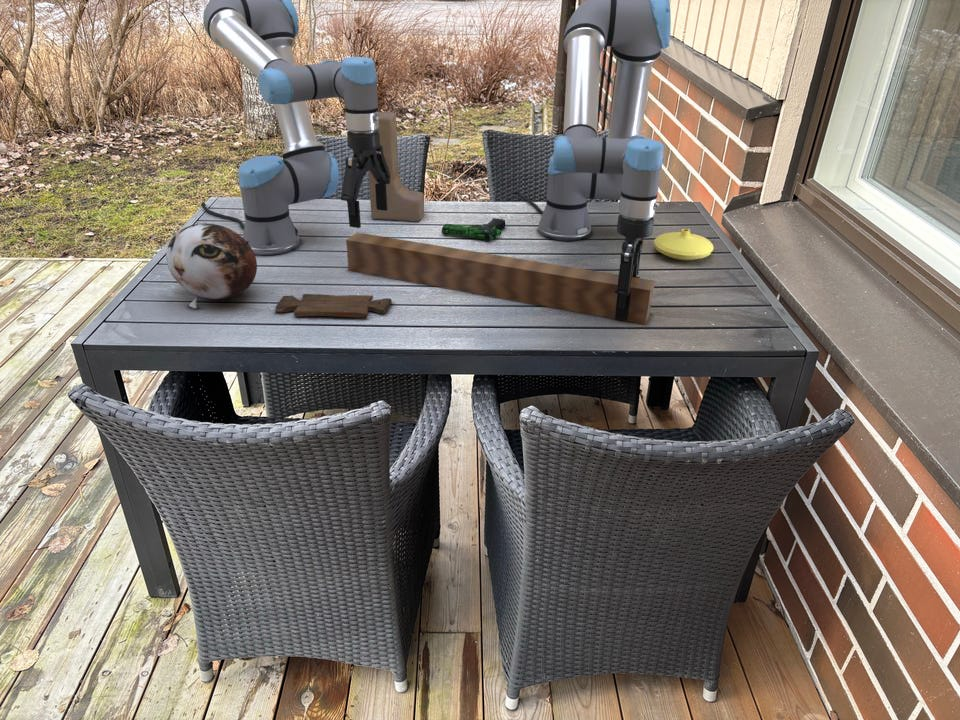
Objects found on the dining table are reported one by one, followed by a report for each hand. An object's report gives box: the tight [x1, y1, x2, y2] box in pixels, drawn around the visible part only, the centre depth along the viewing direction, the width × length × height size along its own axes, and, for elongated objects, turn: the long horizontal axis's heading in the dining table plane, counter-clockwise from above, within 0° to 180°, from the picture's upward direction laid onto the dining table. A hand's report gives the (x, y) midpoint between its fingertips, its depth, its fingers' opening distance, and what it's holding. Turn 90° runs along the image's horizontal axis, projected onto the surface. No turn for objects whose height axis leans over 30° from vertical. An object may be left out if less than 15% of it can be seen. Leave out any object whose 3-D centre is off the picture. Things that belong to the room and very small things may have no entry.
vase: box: [653, 228, 715, 261], centre depth 193 cm, size 16×16×7 cm
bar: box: [345, 232, 656, 325], centre depth 171 cm, size 76×6×8 cm, turn 69°
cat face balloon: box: [165, 222, 258, 309], centre depth 165 cm, size 22×18×20 cm
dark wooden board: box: [275, 293, 392, 318], centre depth 164 cm, size 26×2×10 cm
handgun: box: [441, 217, 506, 242], centre depth 207 cm, size 16×3×15 cm
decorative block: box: [367, 111, 425, 222], centre depth 210 cm, size 8×15×30 cm, turn 82°
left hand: (369, 218), depth 176 cm, fingers open, 13 cm apart
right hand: (623, 312), depth 163 cm, fingers closed on bar, 6 cm apart
